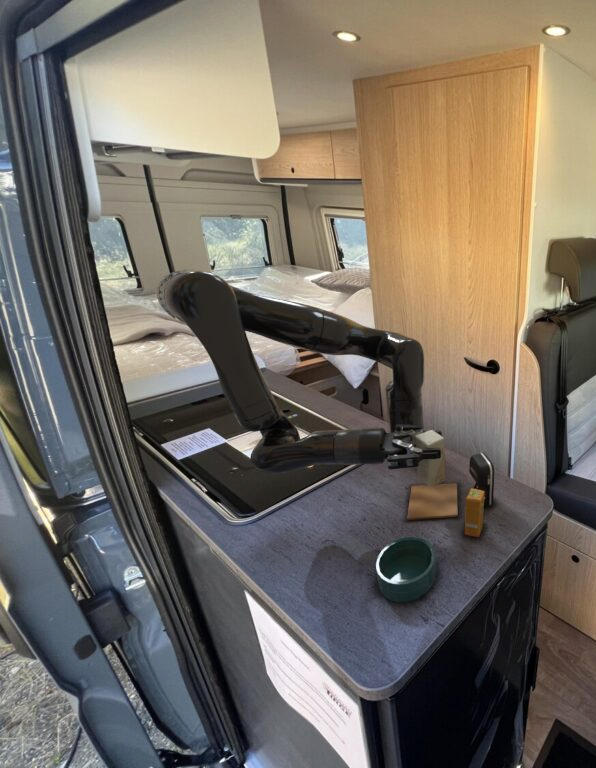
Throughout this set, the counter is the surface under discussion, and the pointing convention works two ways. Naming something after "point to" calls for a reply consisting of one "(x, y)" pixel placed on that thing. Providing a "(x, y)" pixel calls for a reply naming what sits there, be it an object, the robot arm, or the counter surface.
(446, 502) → the plate
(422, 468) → the box
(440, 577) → the counter surface
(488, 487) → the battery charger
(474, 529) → the supplement box
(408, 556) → the pot
